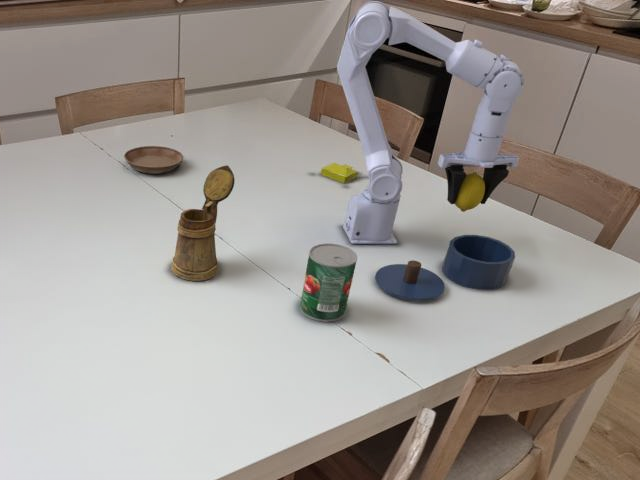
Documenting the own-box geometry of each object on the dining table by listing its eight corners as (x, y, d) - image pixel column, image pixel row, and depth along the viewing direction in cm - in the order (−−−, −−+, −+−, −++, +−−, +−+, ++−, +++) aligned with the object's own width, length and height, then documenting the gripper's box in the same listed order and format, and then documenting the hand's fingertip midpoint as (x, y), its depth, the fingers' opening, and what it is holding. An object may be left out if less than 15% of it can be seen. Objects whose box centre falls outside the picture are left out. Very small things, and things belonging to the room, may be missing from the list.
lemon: (480, 218, 130) (493, 179, 126) (450, 216, 131) (462, 176, 126) (475, 207, 135) (487, 168, 130) (446, 204, 135) (457, 166, 131)
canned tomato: (291, 302, 120) (299, 247, 113) (328, 294, 122) (338, 239, 116) (316, 326, 114) (327, 269, 107) (354, 316, 117) (367, 260, 110)
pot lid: (385, 303, 120) (391, 281, 117) (366, 269, 130) (371, 247, 127) (453, 303, 121) (461, 280, 118) (429, 268, 130) (435, 247, 127)
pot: (455, 290, 124) (464, 263, 121) (433, 259, 133) (440, 234, 130) (515, 289, 125) (526, 263, 121) (489, 259, 134) (498, 234, 130)
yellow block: (312, 174, 167) (313, 163, 165) (334, 165, 172) (336, 154, 170) (345, 186, 161) (347, 175, 159) (367, 177, 166) (369, 165, 164)
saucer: (147, 151, 178) (147, 141, 176) (194, 164, 171) (194, 153, 169) (112, 168, 168) (111, 157, 166) (160, 182, 161) (160, 171, 160)
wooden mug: (240, 259, 132) (249, 171, 121) (199, 286, 124) (204, 194, 113) (203, 245, 137) (208, 158, 126) (161, 270, 128) (163, 180, 117)
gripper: (457, 140, 120) (436, 210, 128) (536, 140, 121) (511, 210, 129) (442, 127, 125) (423, 195, 134) (518, 127, 126) (495, 195, 134)
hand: (465, 202), depth 132 cm, fingers closed on lemon, 5 cm apart
